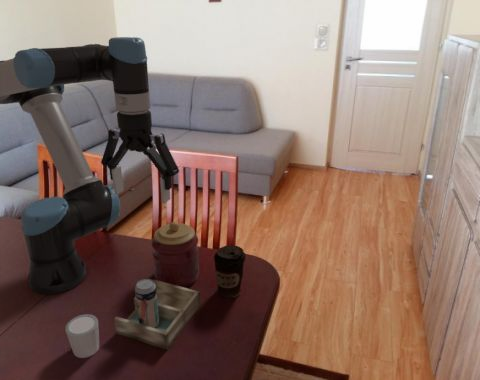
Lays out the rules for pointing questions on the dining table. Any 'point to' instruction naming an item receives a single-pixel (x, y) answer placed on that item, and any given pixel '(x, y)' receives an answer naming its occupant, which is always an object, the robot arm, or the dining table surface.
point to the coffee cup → (229, 270)
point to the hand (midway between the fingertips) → (142, 196)
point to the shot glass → (83, 335)
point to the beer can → (147, 303)
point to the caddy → (162, 316)
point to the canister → (176, 254)
